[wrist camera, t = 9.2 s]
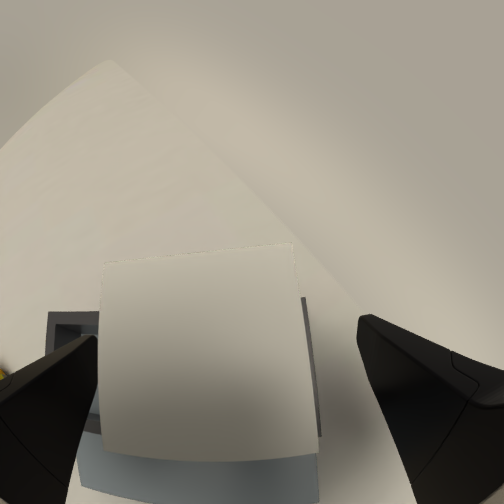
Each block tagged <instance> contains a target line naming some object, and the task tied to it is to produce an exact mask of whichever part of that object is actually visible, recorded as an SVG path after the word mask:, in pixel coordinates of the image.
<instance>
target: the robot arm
mask: <svg viewBox="0 0 504 504" xmlns="http://www.w3.org/2000/svg"><path fill="white" fill-rule="evenodd" d="M356 338H357V345H358V348H359V351H360V354H361V357H362V360H363V364H364V367H365V370H366V374H367V377H368V380H369V382H370V385H371V387H372V389H373V392H374V394H375V396H376V398H377V401H378V403H379V405H380V408H381V410H382V413H383V415H384V417H385V420H386V422H387V425H388V427H389V429H390V432H391V434H392V437H393V439H394V442H395V444H396V447H397V449H398V452H399V455H400V457H401V460H402V462H403V465H404V468H405V470H406V473H407V476H408V479H409V481H410V484H411V487H412V490H413V493H414V496H415V499H416V502H417V504H504V370H500V369H498V368H495V367H492V366H489V365H486V364H483V363H480V362H478V361H475V360H472V359H470V358H468V357H465V356H463V355H460V354H458V353H456V352H454V351H450V350H449V349H447V348H445V347H443V346H440V345H438V344H436V343H434V342H431V341H429V340H427V339H425V338H423V337H421V336H418V335H416V334H414V333H412V332H409V331H407V330H405V329H403V328H401V327H398V326H396V325H394V324H392V323H390V322H388V321H385V320H383V319H381V318H379V317H377V316H374V315H372V314H368V315H362V316H360V317H359V320H358V328H357V337H356ZM97 385H98V339H97V337H96V336H95V335H87V334H86V335H83V336H81V337H79V338H78V339H76V340H74V341H72V342H70V343H68V344H66V345H64V346H63V347H61V348H59V349H57V350H55V351H53V352H51V353H50V354H48V355H46V356H44V357H42V358H40V359H38V360H37V361H35V362H33V363H31V364H29V365H27V366H25V367H24V368H22V369H20V370H18V371H16V372H15V373H12V374H11V375H9V376H7V377H5V378H3V379H1V380H0V504H65V502H66V497H67V492H68V487H69V483H70V478H71V474H72V470H73V466H74V462H75V458H76V455H77V451H78V447H79V444H80V440H81V437H82V434H83V430H84V427H85V424H86V421H87V417H88V414H89V411H90V408H91V405H92V402H93V399H94V396H95V393H96V389H97Z"/></svg>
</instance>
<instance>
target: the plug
mask: <svg viewBox="0 0 504 504" xmlns="http://www.w3.org/2000/svg"><path fill="white" fill-rule="evenodd" d="M98 393H99V411H100V423H101V433H102V442H103V450H104V451H108V452H113V453H119V454H125V455H131V456H138V457H146V458H154V459H164V460H177V461H198V462H232V461H253V460H266V459H277V458H285V457H293V456H300V455H307V454H313V453H319V443H318V432H317V422H316V413H315V403H314V394H313V386H312V377H311V369H310V361H309V353H308V346H307V339H306V331H305V324H304V317H303V311H302V304H301V297H300V291H299V284H298V278H297V272H296V266H295V260H294V254H293V248H292V242H291V243H281V244H272V245H262V246H253V247H243V248H234V249H224V250H215V251H206V252H197V253H187V254H178V255H169V256H160V257H151V258H142V259H133V260H124V261H115V262H106V263H104V270H103V278H102V288H101V299H100V312H99V330H98Z"/></svg>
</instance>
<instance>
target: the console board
mask: <svg viewBox="0 0 504 504" xmlns="http://www.w3.org/2000/svg"><path fill="white" fill-rule="evenodd" d="M301 304H302V311H303V317H304V324H305V331H306V339H307V346H308V353H309V361H310V369H311V377H312V386H313V394H314V403H315V413H316V422H317V432H318V437H321V424H320V413H319V403H318V393H317V384H316V375H315V366H314V358H313V350H312V342H311V334H310V327H309V319H308V312H307V305H306V299H305V297H302V298H301ZM99 312H100V311H90V312H48V321H47V333H46V348H45V356H46V355H48V354H50V353H51V352H53V351H55V350H57V349H59V348H61V347H63V346H64V345H66V344H68V343H70V342H72V341H74V340H76V339H78V338H79V337H81V336H83V335H86V334H87V335H95V336H96V337H97V339H98V330H99ZM76 457H77V463H78V469H79V475H80V480H81V485H82V486H83V487H86V488H90V489H93V490H96V491H100V492H103V493H107V494H111V495H115V496H119V497H123V498H127V499H132V500H137V501H142V502H147V503H153V504H312V503H318V502H319V489H318V473H317V458H316V453H313V454H307V455H300V456H293V457H285V458H277V459H266V460H253V461H232V462H198V461H177V460H164V459H154V458H146V457H138V456H131V455H125V454H119V453H113V452H108V451H104V450H103V442H102V433H101V423H100V411H99V393H98V385H97V389H96V393H95V396H94V399H93V402H92V405H91V408H90V411H89V414H88V417H87V421H86V424H85V427H84V430H83V434H82V437H81V440H80V444H79V447H78V451H77V455H76Z"/></svg>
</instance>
